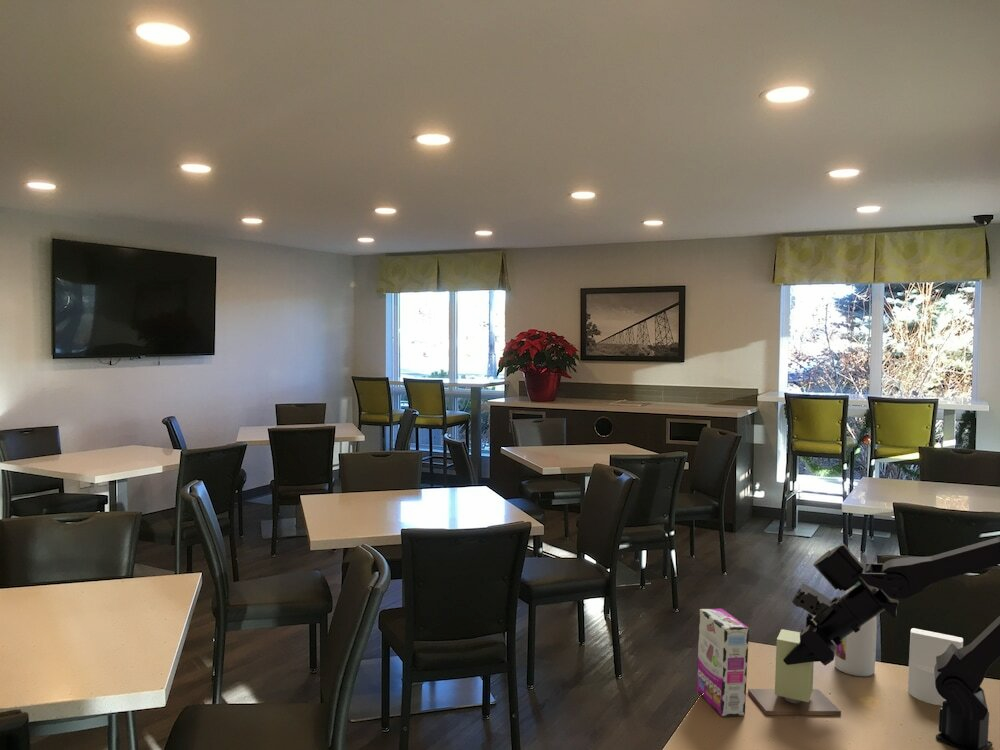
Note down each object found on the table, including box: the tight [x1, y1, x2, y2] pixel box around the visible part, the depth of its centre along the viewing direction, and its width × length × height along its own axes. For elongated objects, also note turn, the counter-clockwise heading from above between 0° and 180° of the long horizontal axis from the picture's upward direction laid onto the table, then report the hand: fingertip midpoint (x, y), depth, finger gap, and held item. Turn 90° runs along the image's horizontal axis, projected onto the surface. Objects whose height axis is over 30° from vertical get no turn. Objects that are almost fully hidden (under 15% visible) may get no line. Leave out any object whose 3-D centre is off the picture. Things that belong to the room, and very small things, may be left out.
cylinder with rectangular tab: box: [907, 627, 964, 706], centre depth 152 cm, size 9×9×12 cm
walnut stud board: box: [747, 688, 842, 716], centre depth 147 cm, size 14×9×4 cm, turn 93°
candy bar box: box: [696, 607, 750, 718], centre depth 146 cm, size 11×5×16 cm, turn 10°
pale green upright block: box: [774, 628, 815, 702], centre depth 147 cm, size 6×6×11 cm
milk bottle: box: [834, 582, 878, 677], centre depth 163 cm, size 8×8×20 cm
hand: (787, 656), depth 147 cm, fingers closed on pale green upright block, 6 cm apart
